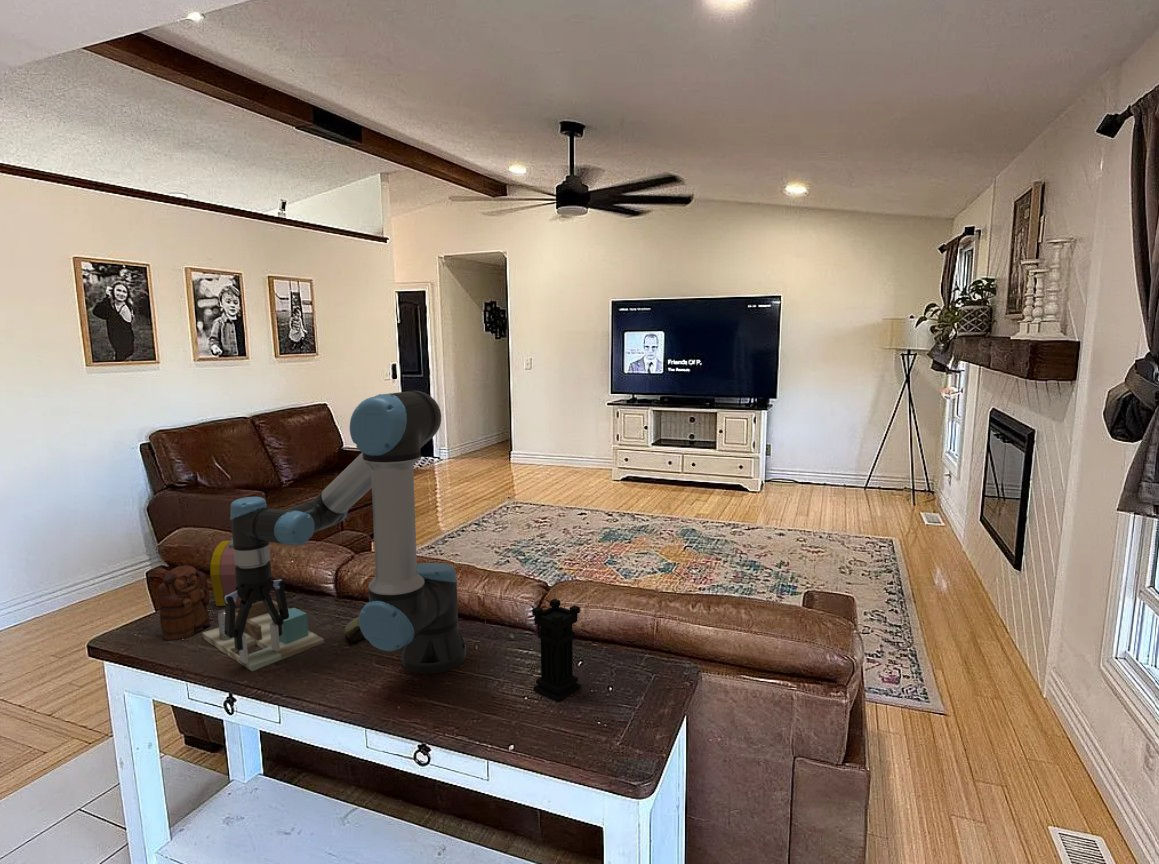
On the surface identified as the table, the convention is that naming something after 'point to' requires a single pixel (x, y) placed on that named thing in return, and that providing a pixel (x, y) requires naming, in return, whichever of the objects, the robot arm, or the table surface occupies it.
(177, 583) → the wooden figurine
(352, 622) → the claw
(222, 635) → the grey knob
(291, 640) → the block
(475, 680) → the table surface
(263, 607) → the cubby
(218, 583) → the alarm clock
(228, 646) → the board
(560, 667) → the chess piece
